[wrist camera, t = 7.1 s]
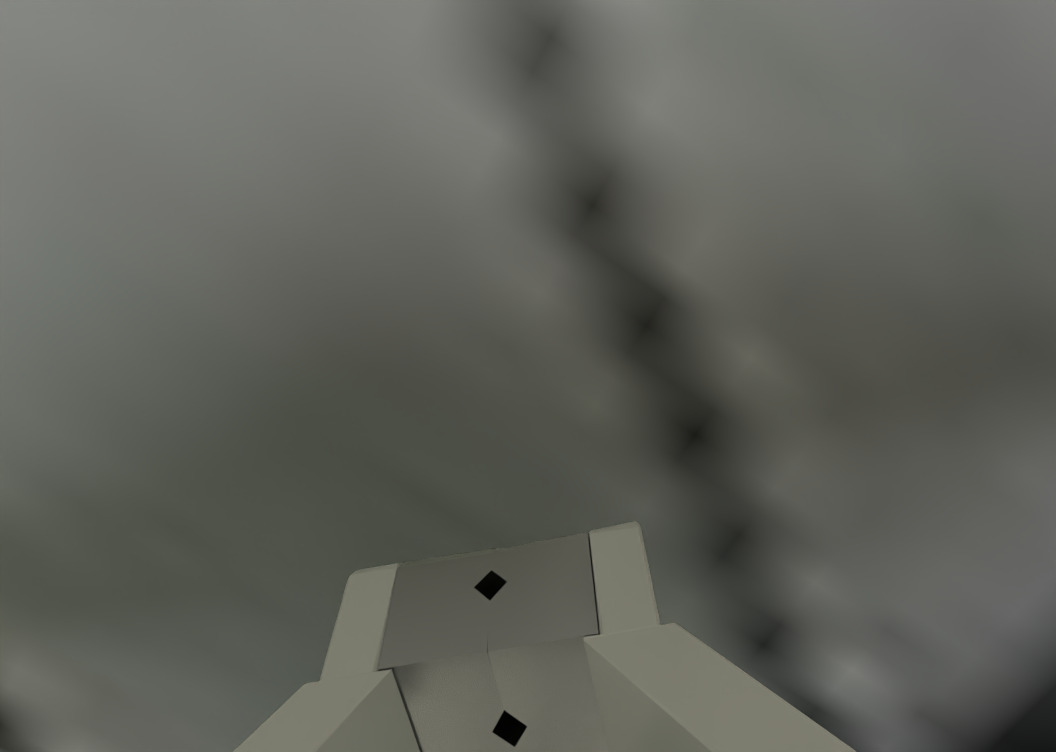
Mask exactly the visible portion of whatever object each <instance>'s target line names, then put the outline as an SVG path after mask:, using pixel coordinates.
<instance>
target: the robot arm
mask: <svg viewBox="0 0 1056 752" xmlns="http://www.w3.org/2000/svg"><path fill="white" fill-rule="evenodd" d="M233 752H856V751H855V750H854V749H852V748H851V747H849V746H848V745H847V744H845V743H844V742H842V741H841V740H840V739H838V738H837V737H835V736H834V735H832V734H831V733H830V732H828V731H827V730H825V729H824V728H823V727H821V726H820V725H818V724H817V723H816V722H814V721H813V720H811V719H810V718H809V717H807V716H806V715H804V714H803V713H802V712H800V711H799V710H797V709H796V708H795V707H793V706H792V705H790V704H789V703H788V702H786V701H785V700H783V699H782V698H781V697H779V696H778V695H776V694H775V693H774V692H772V691H771V690H769V689H768V688H767V687H765V686H764V685H762V684H761V683H760V682H758V681H757V680H755V679H754V678H753V677H751V676H750V675H748V674H747V673H746V672H744V671H743V670H741V669H740V668H739V667H737V666H736V665H734V664H733V663H732V662H730V661H729V660H727V659H726V658H725V657H723V656H722V655H720V654H719V653H717V652H716V651H715V650H713V649H712V648H710V647H709V646H708V645H706V644H705V643H703V642H702V641H701V640H699V639H698V638H696V637H695V636H694V635H692V634H691V633H689V632H688V631H687V630H685V629H684V628H682V627H681V626H680V625H678V624H677V623H669V624H663V625H661V624H660V619H659V614H658V609H657V604H656V599H655V594H654V590H653V585H652V580H651V575H650V570H649V565H648V560H647V555H646V551H645V546H644V541H643V536H642V531H641V526H640V524H639V523H638V522H637V521H633V522H628V523H623V524H619V525H614V526H609V527H604V528H599V529H595V530H590V533H589V532H584V533H579V534H574V535H569V536H563V537H558V538H553V539H548V540H542V541H537V542H532V543H527V544H521V545H516V546H511V547H506V548H500V549H495V548H493V549H487V550H480V551H474V552H467V553H460V554H454V555H447V556H441V557H434V558H428V559H421V560H414V561H408V562H403V563H402V564H399V563H394V564H389V565H383V566H378V567H372V568H366V569H361V570H356V571H355V572H353V573H352V574H351V575H350V576H349V578H348V580H347V583H346V587H345V591H344V594H343V598H342V601H341V605H340V608H339V612H338V616H337V619H336V623H335V626H334V630H333V634H332V637H331V641H330V644H329V648H328V651H327V655H326V659H325V662H324V666H323V669H322V673H321V676H320V680H319V681H316V682H311V683H305V684H304V685H303V686H302V687H301V688H300V689H299V690H298V691H297V692H296V693H294V694H293V695H292V696H291V697H290V698H289V699H288V700H287V701H286V702H285V703H284V704H283V705H282V706H281V707H280V708H279V709H278V710H276V711H275V712H274V713H273V714H272V715H271V716H270V717H269V718H268V719H267V720H266V721H265V722H264V723H263V724H262V725H261V726H260V727H258V728H257V729H256V730H255V731H254V732H253V733H252V734H251V735H250V736H249V737H248V738H247V739H246V740H245V741H244V742H243V743H242V744H241V745H239V746H238V747H237V748H236V749H235V750H234V751H233Z"/></svg>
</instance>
